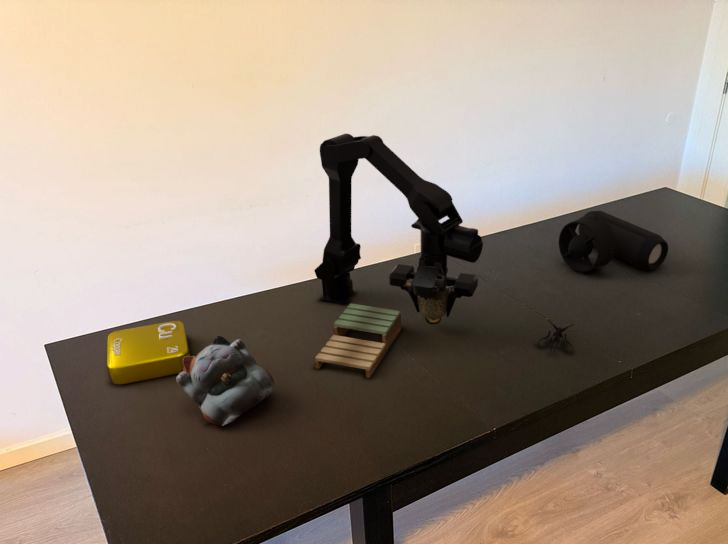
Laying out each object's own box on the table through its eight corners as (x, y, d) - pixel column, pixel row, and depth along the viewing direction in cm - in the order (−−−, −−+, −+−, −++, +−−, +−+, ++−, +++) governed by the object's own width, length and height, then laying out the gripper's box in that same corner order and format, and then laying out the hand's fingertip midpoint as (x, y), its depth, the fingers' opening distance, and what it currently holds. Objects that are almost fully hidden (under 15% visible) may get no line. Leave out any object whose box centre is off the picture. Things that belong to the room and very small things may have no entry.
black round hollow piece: (551, 216, 170) (576, 207, 176) (546, 266, 178) (570, 256, 184) (595, 233, 161) (620, 223, 167) (587, 285, 169) (611, 274, 175)
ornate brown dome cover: (445, 332, 145) (446, 300, 140) (413, 327, 146) (413, 296, 141) (452, 315, 151) (453, 284, 146) (421, 311, 152) (421, 281, 147)
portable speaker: (666, 268, 179) (673, 234, 174) (642, 277, 174) (649, 242, 169) (597, 236, 196) (602, 204, 191) (574, 244, 191) (578, 211, 186)
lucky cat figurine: (207, 437, 116) (165, 371, 112) (205, 421, 128) (166, 360, 123) (283, 394, 120) (244, 329, 116) (274, 382, 131) (239, 322, 127)
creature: (569, 362, 141) (577, 337, 146) (571, 344, 137) (579, 319, 143) (534, 355, 143) (542, 330, 149) (535, 337, 140) (543, 313, 145)
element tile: (112, 348, 140) (106, 329, 137) (186, 335, 145) (182, 316, 142) (112, 387, 129) (105, 367, 126) (192, 371, 134) (187, 351, 131)
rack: (315, 368, 135) (313, 348, 133) (352, 321, 152) (350, 302, 149) (369, 378, 133) (368, 357, 130) (401, 329, 149) (400, 310, 146)
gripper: (379, 260, 134) (381, 325, 142) (467, 272, 130) (464, 338, 139) (396, 239, 143) (398, 301, 151) (479, 250, 139) (476, 313, 148)
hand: (433, 313), depth 147 cm, fingers closed on ornate brown dome cover, 6 cm apart
